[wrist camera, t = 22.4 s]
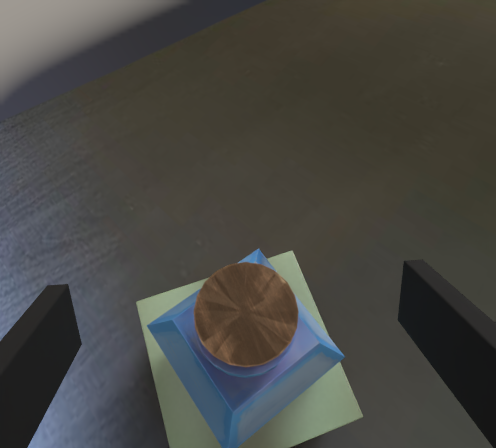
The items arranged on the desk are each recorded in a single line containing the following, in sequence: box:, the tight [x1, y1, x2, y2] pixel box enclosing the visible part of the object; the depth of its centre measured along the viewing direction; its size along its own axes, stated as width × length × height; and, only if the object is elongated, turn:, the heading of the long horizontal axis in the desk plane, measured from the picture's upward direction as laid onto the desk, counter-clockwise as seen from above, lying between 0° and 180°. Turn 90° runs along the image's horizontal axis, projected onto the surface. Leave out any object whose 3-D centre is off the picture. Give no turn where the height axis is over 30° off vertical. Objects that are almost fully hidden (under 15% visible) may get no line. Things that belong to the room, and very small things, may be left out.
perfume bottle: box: [147, 249, 345, 448], centre depth 17 cm, size 6×6×12 cm
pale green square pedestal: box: [136, 251, 363, 448], centre depth 26 cm, size 10×10×8 cm
